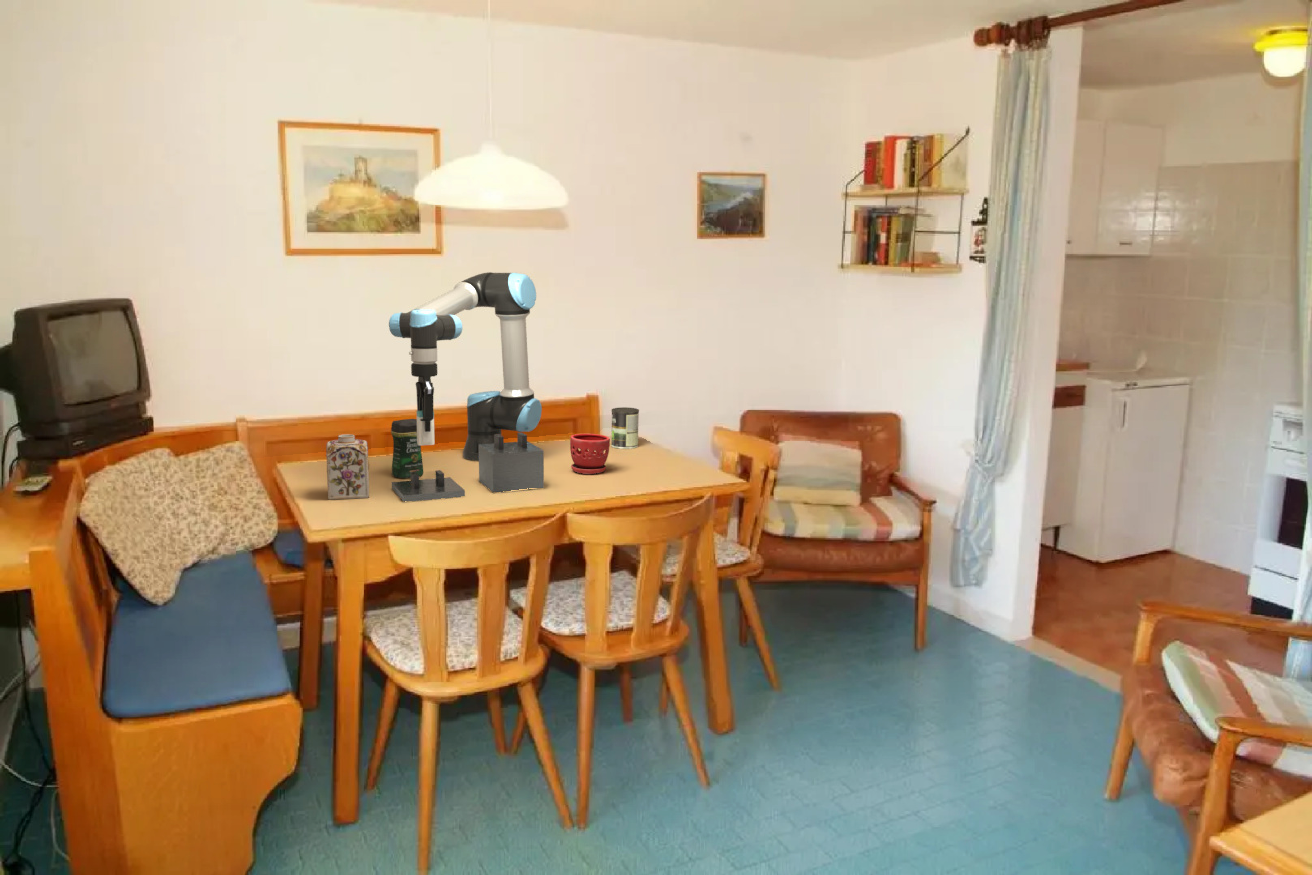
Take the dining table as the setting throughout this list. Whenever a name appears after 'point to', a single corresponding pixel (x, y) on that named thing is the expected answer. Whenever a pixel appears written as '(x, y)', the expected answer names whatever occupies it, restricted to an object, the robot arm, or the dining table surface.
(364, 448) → the decorative jar
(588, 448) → the plant pot
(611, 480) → the dining table surface
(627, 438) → the coffee can
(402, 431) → the coffee jar
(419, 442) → the plug
